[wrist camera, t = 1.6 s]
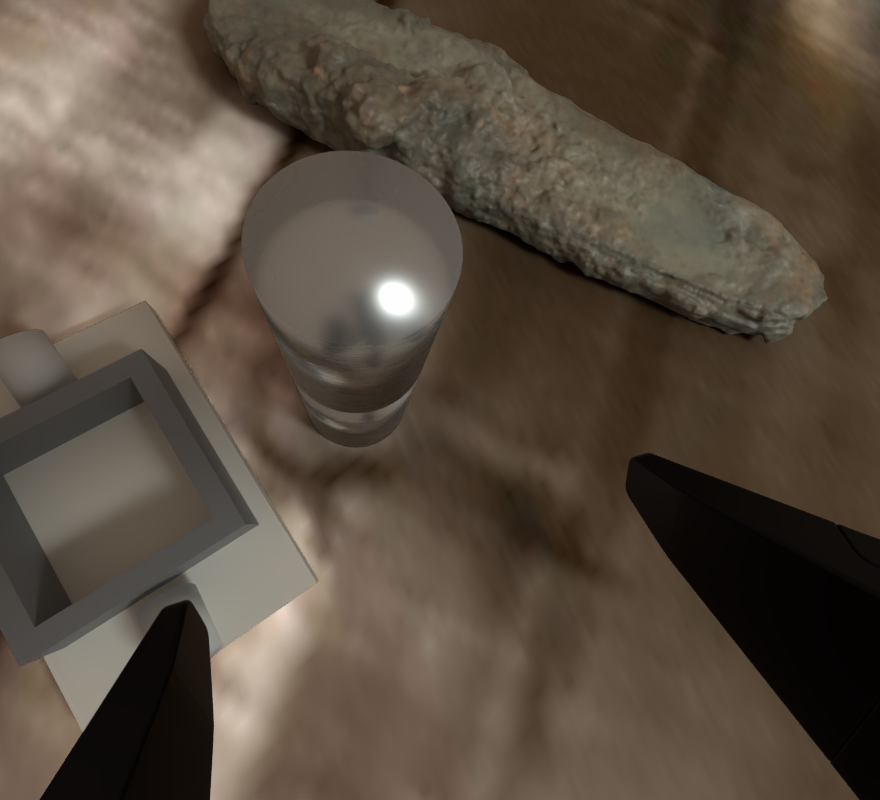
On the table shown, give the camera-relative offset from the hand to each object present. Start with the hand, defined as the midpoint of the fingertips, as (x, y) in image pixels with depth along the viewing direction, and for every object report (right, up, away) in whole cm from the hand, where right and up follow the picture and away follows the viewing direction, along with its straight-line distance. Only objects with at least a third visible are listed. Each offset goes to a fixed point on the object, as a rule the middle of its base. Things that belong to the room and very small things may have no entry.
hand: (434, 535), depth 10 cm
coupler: (-4, +3, +13) cm, 14 cm away
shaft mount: (-12, -1, +10) cm, 16 cm away
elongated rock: (+4, +15, +18) cm, 24 cm away
